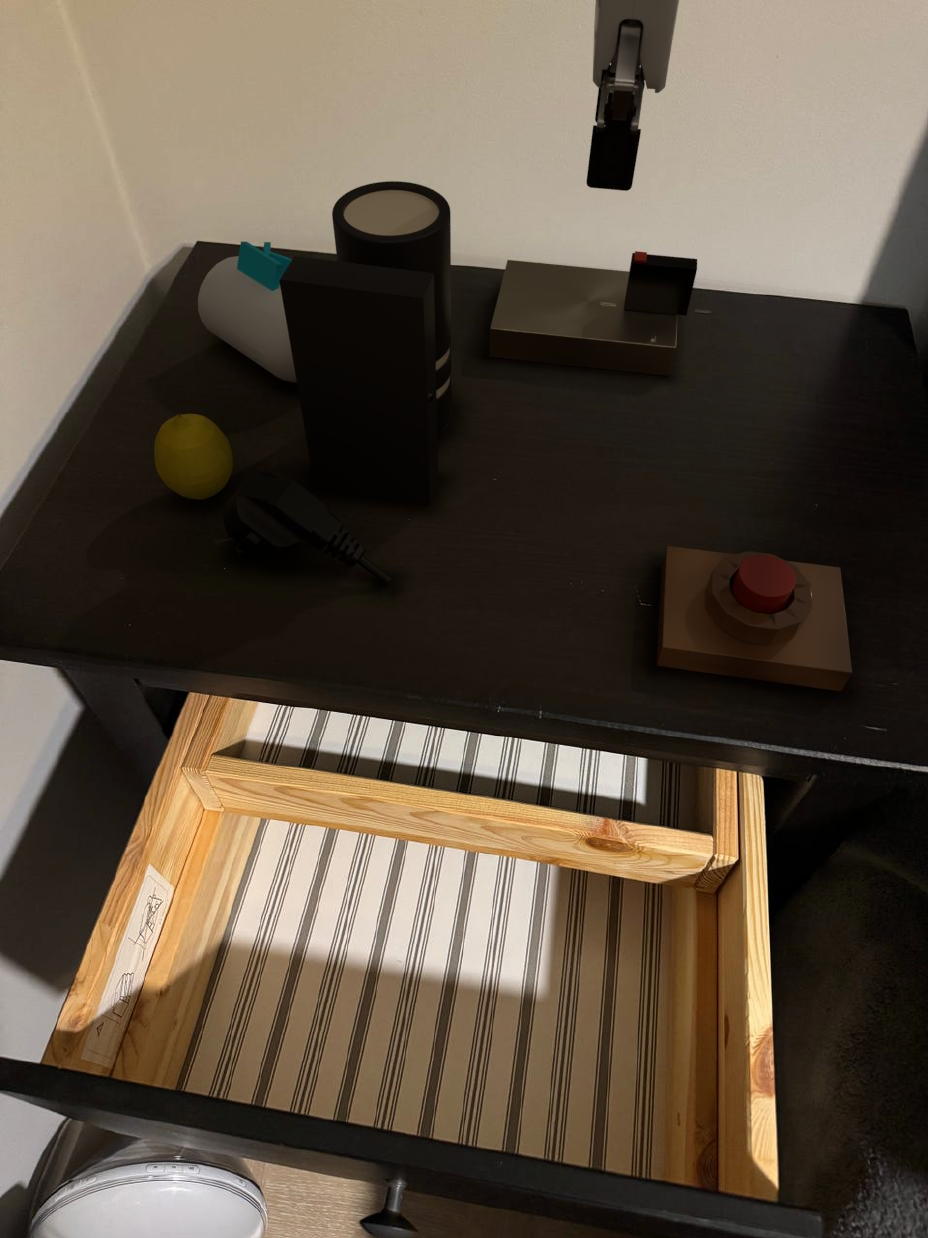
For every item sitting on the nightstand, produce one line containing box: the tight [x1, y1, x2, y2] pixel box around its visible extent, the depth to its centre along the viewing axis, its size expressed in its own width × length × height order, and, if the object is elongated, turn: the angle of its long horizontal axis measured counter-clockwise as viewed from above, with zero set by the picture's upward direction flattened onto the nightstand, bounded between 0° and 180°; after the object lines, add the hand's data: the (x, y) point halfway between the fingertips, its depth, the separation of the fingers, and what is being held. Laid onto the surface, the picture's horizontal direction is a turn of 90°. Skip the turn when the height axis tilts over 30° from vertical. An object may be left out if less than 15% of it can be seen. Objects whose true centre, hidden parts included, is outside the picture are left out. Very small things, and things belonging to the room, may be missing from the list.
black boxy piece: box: [624, 250, 698, 316], centre depth 78 cm, size 6×2×5 cm, turn 80°
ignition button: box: [733, 555, 796, 614], centre depth 59 cm, size 4×4×2 cm
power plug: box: [222, 471, 392, 586], centre depth 65 cm, size 6×8×12 cm
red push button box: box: [656, 545, 853, 692], centre depth 61 cm, size 12×9×4 cm
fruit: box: [153, 413, 234, 501], centre depth 67 cm, size 6×6×8 cm
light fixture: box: [279, 180, 453, 507], centre depth 67 cm, size 10×14×18 cm
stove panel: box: [488, 259, 712, 377], centre depth 82 cm, size 19×11×3 cm, turn 80°
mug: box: [197, 240, 297, 383], centre depth 79 cm, size 12×9×12 cm
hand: (612, 153), depth 67 cm, fingers open, 9 cm apart
